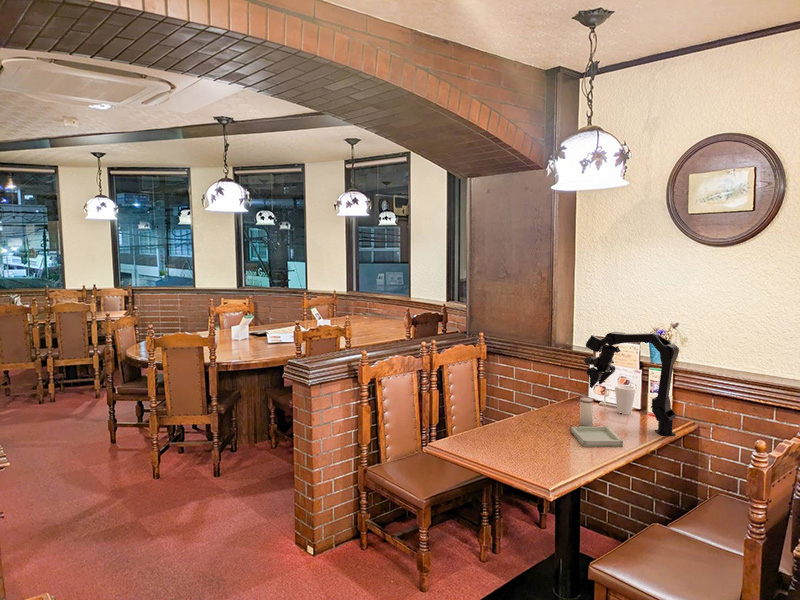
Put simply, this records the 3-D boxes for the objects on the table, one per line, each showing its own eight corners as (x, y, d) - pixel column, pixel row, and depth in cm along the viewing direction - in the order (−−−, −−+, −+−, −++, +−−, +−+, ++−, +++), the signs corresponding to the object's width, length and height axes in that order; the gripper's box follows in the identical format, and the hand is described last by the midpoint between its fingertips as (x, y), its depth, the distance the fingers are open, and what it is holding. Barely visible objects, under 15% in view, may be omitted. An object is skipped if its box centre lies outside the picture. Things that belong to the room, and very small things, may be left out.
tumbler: (594, 428, 253) (595, 400, 252) (581, 428, 253) (582, 400, 252) (589, 424, 259) (590, 397, 257) (577, 424, 259) (578, 397, 257)
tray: (622, 446, 231) (622, 440, 231) (583, 446, 231) (584, 441, 231) (606, 431, 249) (606, 426, 249) (570, 432, 249) (570, 426, 249)
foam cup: (614, 414, 274) (615, 388, 272) (613, 409, 283) (614, 383, 281) (635, 416, 271) (636, 390, 270) (633, 410, 280) (634, 385, 278)
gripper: (599, 346, 275) (589, 374, 280) (581, 352, 262) (571, 381, 267) (620, 356, 268) (609, 385, 273) (603, 362, 255) (591, 392, 260)
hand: (595, 385), depth 268 cm, fingers open, 9 cm apart
